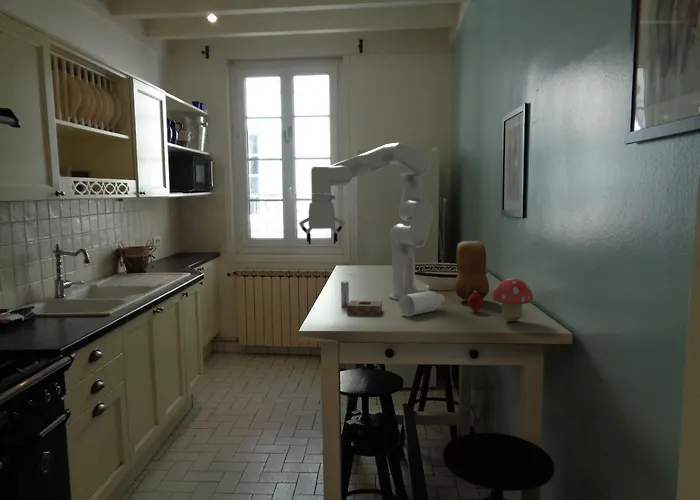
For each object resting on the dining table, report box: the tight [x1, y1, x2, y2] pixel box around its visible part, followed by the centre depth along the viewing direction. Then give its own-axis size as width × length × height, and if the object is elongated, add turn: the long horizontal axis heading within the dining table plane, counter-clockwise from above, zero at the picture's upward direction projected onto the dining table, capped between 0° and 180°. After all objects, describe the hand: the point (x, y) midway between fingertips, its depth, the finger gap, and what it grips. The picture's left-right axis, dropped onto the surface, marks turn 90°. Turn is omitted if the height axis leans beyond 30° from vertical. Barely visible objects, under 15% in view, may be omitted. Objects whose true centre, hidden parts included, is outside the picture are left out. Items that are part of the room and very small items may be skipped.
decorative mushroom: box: [491, 277, 534, 323], centre depth 178 cm, size 13×13×15 cm
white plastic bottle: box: [398, 290, 446, 317], centre depth 194 cm, size 8×19×8 cm, turn 128°
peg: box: [340, 280, 350, 309], centre depth 206 cm, size 3×3×10 cm
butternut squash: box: [454, 240, 490, 302], centre depth 212 cm, size 14×13×25 cm
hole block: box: [346, 300, 383, 317], centre depth 196 cm, size 12×9×4 cm
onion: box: [467, 291, 485, 313], centre depth 194 cm, size 6×6×8 cm
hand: (322, 243), depth 200 cm, fingers open, 9 cm apart
